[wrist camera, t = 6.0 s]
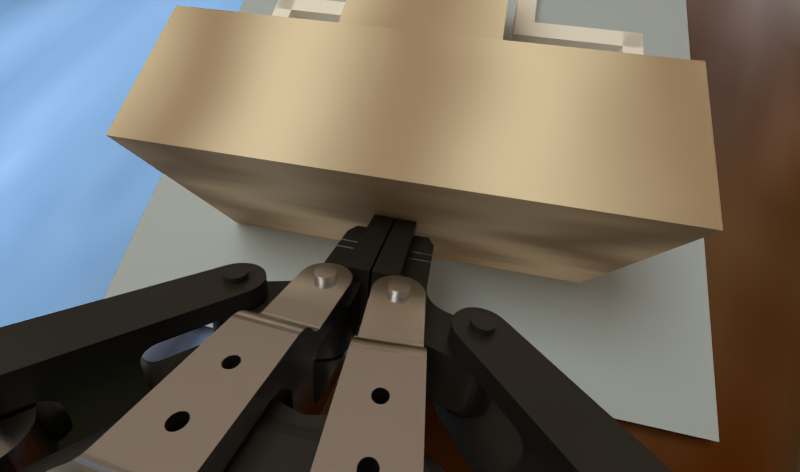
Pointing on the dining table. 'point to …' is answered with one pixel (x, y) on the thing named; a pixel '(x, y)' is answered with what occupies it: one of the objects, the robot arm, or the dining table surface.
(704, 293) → the board
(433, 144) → the t block
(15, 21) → the dining table surface
